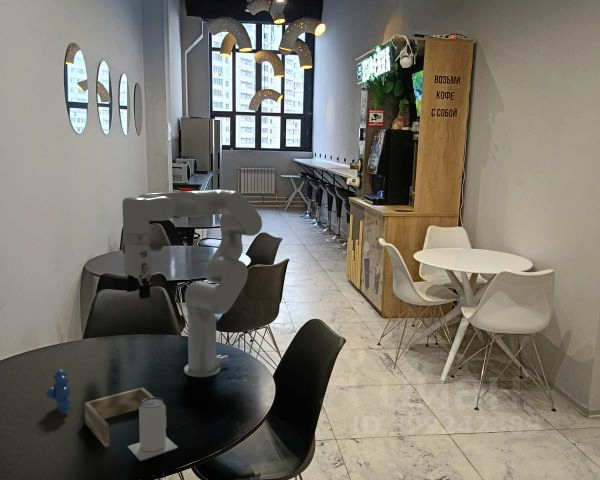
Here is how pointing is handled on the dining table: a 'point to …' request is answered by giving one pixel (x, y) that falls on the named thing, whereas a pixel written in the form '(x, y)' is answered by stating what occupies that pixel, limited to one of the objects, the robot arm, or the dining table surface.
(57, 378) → the grapes
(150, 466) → the dining table surface
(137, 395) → the wooden u-shaped frame
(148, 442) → the can
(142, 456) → the mat
